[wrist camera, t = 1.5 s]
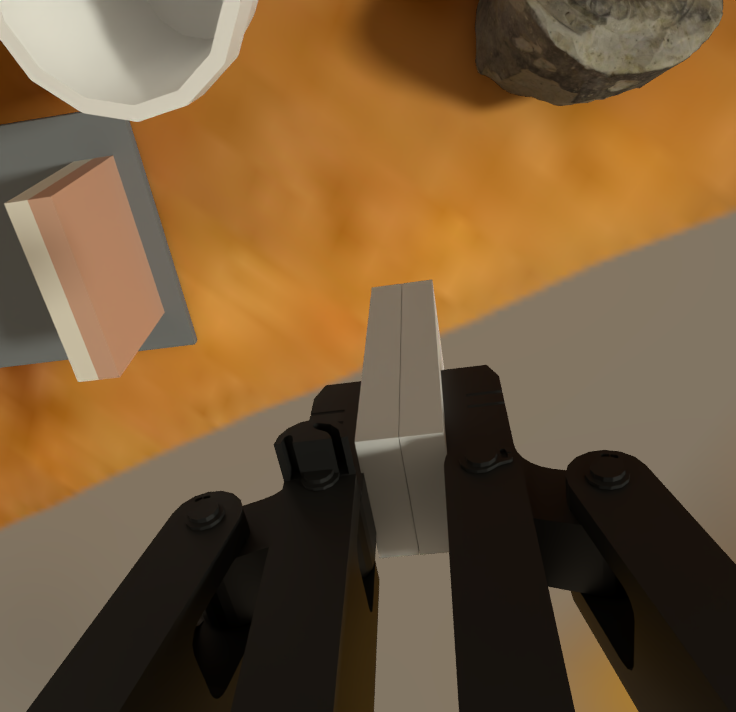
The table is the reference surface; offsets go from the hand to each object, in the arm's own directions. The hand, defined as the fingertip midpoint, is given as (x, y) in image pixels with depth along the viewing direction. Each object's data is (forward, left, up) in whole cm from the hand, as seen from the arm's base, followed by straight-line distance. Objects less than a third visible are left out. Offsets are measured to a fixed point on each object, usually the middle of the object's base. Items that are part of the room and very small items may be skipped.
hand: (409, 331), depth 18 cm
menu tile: (+4, -18, -24) cm, 30 cm away
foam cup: (-9, -9, -25) cm, 28 cm away
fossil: (-6, +10, -25) cm, 27 cm away
